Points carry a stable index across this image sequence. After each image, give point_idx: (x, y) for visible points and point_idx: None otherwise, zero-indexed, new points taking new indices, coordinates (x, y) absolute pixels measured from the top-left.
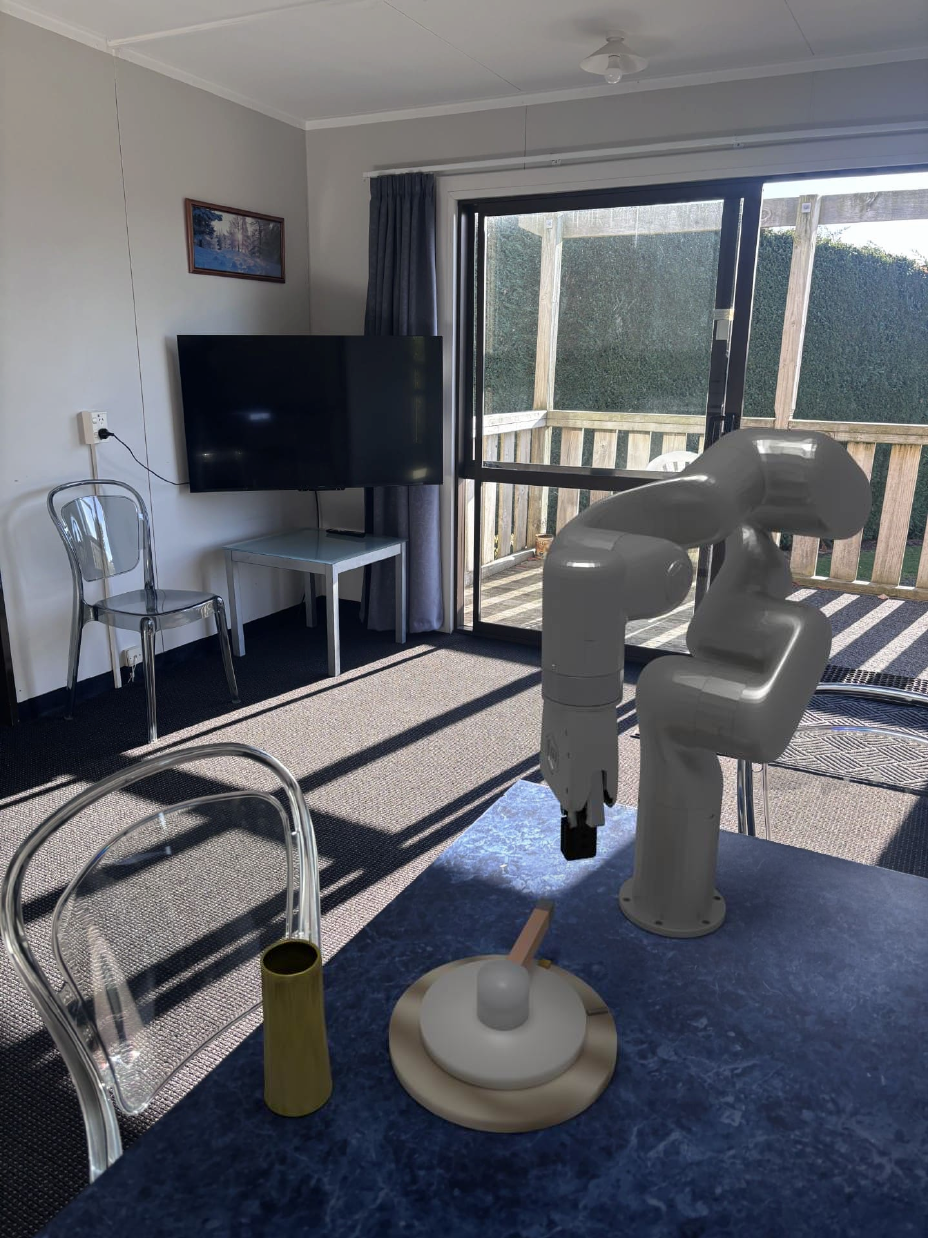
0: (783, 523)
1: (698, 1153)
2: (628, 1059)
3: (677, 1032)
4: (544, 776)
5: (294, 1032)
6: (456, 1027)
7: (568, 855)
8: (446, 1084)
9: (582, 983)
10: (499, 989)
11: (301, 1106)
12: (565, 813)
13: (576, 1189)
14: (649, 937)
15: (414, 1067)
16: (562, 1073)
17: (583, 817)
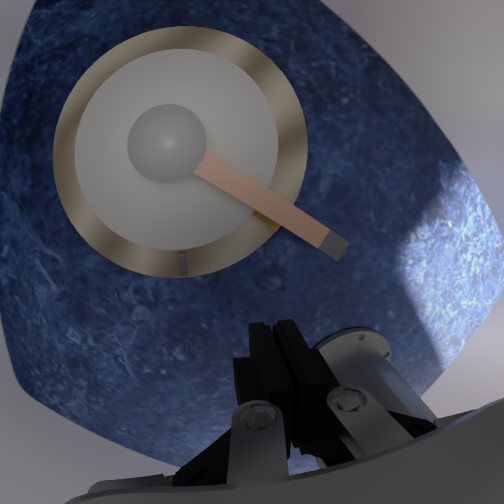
0: None
1: (40, 297)
2: (133, 276)
3: (166, 331)
4: (481, 422)
5: None
6: (157, 87)
7: (251, 336)
8: (103, 79)
9: (233, 259)
10: (139, 132)
11: None
12: (325, 406)
13: (12, 192)
14: (309, 344)
15: (133, 48)
16: None
17: (172, 485)
